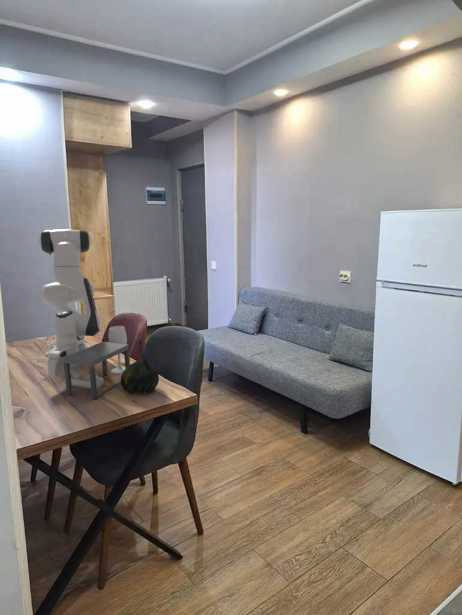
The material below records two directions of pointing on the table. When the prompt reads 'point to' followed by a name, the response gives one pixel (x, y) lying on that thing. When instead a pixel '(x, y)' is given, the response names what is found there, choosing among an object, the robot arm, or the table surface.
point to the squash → (140, 377)
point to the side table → (92, 358)
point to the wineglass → (119, 336)
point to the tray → (84, 380)
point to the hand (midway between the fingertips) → (70, 378)
